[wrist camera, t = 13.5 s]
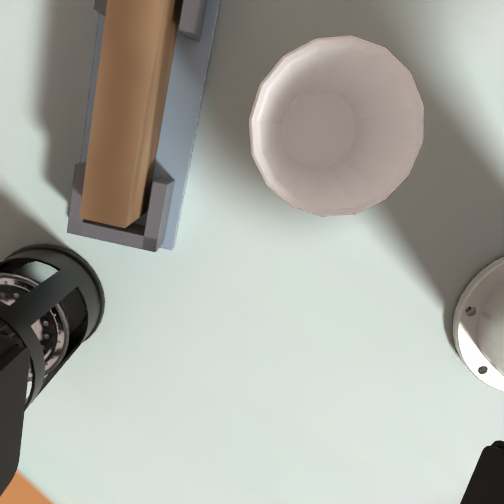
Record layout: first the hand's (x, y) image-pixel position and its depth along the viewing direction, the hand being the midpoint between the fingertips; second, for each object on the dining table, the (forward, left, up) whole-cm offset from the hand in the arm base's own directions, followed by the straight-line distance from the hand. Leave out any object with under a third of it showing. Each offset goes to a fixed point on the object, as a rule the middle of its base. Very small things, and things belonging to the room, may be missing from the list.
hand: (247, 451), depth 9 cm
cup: (-3, -7, -28) cm, 30 cm away
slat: (+10, -6, -27) cm, 30 cm away
